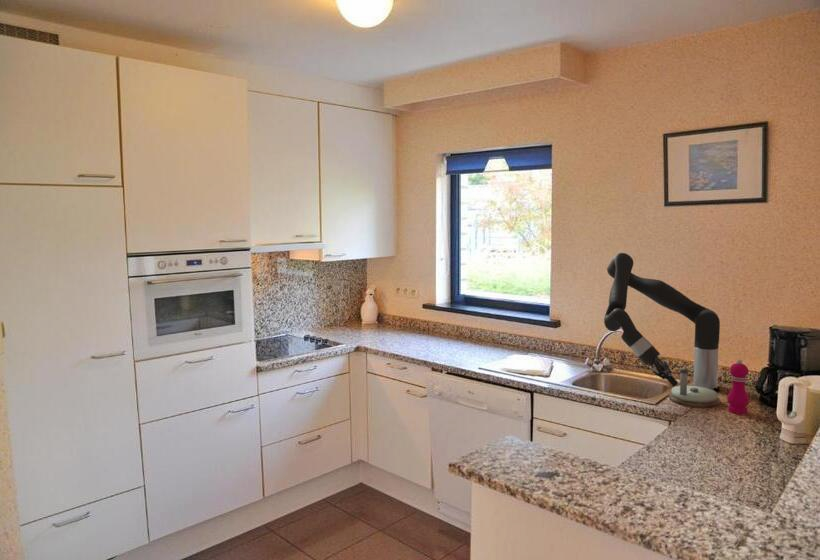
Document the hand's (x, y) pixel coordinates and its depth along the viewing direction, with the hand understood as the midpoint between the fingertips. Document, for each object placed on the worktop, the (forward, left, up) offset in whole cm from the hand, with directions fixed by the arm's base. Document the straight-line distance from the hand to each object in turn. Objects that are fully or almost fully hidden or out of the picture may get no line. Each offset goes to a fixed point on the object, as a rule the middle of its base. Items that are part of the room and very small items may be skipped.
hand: (676, 384), depth 230 cm
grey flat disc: (-3, +8, -7) cm, 11 cm away
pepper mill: (+10, +19, -7) cm, 23 cm away
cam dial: (-3, +8, -5) cm, 10 cm away
